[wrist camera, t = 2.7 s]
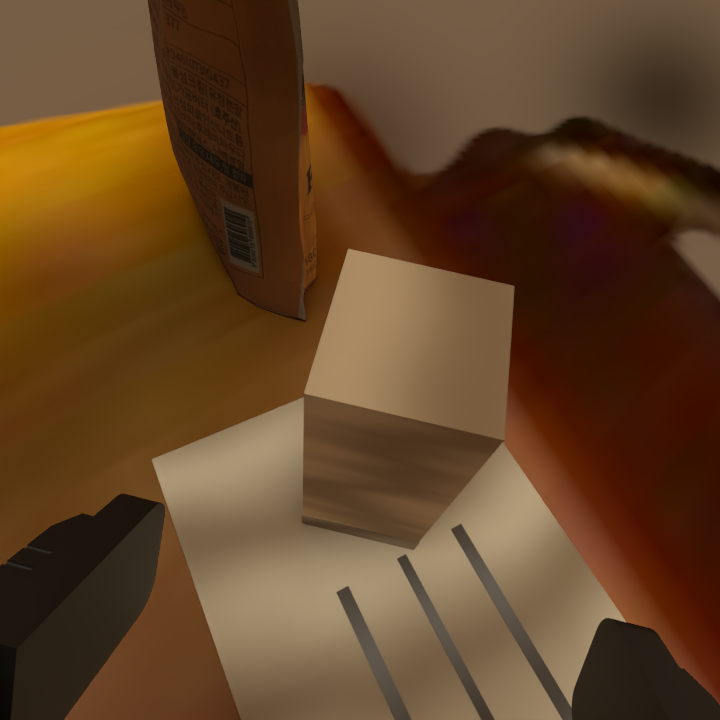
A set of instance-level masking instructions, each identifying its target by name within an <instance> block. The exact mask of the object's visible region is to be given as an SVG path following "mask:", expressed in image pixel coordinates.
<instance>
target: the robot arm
mask: <svg viewBox="0 0 720 720" xmlns="http://www.w3.org/2000/svg"><path fill="white" fill-rule="evenodd" d="M164 517H165V507H164V505H163V504H162V503H159V502H155V501H151V500H147V499H143V498H139V497H135V496H131V495H127V494H120V495H118V496H117V497H116V498H114V499H113V500H112V501H111V502H110V503H109V504H107V505H106V506H105V507H104V508H103V509H102V510H100V511H99V512H98V513H97V514H96V515H95V516H90V515H86V514H80V515H77V516H75V517H72V518H70V519H67V520H65V521H62V522H60V523H57V524H55V525H53V526H51V527H49V528H48V529H47V530H46V531H44V532H43V533H42V534H40V535H39V536H38V537H37V538H35V539H34V540H33V541H32V542H30V543H29V544H28V546H27V548H26V549H25V548H23V549H21V550H20V551H19V552H18V553H16V554H15V555H14V556H12V557H11V558H10V559H9V560H8V561H7V563H6V565H3V564H2V565H1V566H0V720H64V719H65V717H66V716H67V714H68V713H69V712H70V710H71V709H72V708H73V706H74V705H75V703H76V702H77V701H78V699H79V698H80V697H81V695H82V694H83V692H84V691H85V690H86V688H87V687H88V686H89V684H90V683H91V681H92V680H93V679H94V677H95V676H96V675H97V673H98V672H99V670H100V669H101V668H102V666H103V665H104V664H105V662H106V661H107V659H108V658H109V657H110V655H111V654H112V652H113V651H114V650H115V648H116V647H117V646H118V644H119V643H120V641H121V640H122V639H123V637H124V636H125V635H126V633H127V632H128V630H129V629H130V628H131V626H132V625H133V624H134V622H135V621H136V619H137V618H138V617H139V615H140V614H141V612H142V610H143V609H144V607H145V605H146V603H147V601H148V598H149V596H150V593H151V591H152V588H153V584H154V580H155V575H156V569H157V562H158V556H159V549H160V543H161V536H162V530H163V523H164ZM572 720H720V706H719V704H718V703H717V701H716V700H715V698H714V697H713V696H712V695H710V694H709V693H708V692H707V691H706V690H705V689H704V688H703V687H702V686H701V685H700V684H699V683H698V682H697V681H696V680H695V679H694V678H693V677H692V676H691V675H690V674H689V673H688V672H687V671H686V670H685V669H682V668H680V667H679V666H678V664H677V663H676V661H675V660H674V658H673V657H672V655H671V654H670V652H669V651H668V649H667V647H666V646H665V644H664V643H663V641H662V640H661V638H660V637H659V635H658V634H657V633H656V632H655V631H654V630H652V629H650V628H646V627H643V626H639V625H635V624H631V623H627V622H623V621H619V620H615V619H611V618H605V619H603V620H602V621H601V622H600V624H599V625H598V628H597V630H596V632H595V635H594V638H593V640H592V643H591V645H590V648H589V651H588V653H587V656H586V658H585V661H584V664H583V666H582V669H581V671H580V674H579V677H578V679H577V682H576V684H575V687H574V691H573V696H572Z"/></svg>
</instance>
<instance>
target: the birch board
mask: <svg viewBox="0 0 720 720" xmlns="http://www.w3.org/2000/svg"><path fill="white" fill-rule="evenodd" d="M303 430H304V397H303V398H301V399H298V400H296V401H293V402H291V403H288V404H286V405H284V406H281V407H279V408H276V409H274V410H271V411H269V412H266V413H264V414H262V415H259V416H257V417H254V418H252V419H249V420H247V421H244V422H242V423H240V424H237V425H235V426H232V427H230V428H227V429H225V430H222V431H220V432H218V433H215V434H213V435H210V436H208V437H205V438H203V439H201V440H198V441H196V442H193V443H191V444H188V445H186V446H183V447H181V448H179V449H176V450H174V451H171V452H169V453H166V454H164V455H161V456H159V457H157V458H154V459H152V462H153V465H154V468H155V471H156V474H157V476H158V479H159V482H160V485H161V488H162V491H163V494H164V497H165V500H166V503H167V506H168V509H169V512H170V514H171V517H172V520H173V523H174V526H175V529H176V532H177V535H178V538H179V541H180V544H181V547H182V550H183V552H184V555H185V558H186V561H187V564H188V567H189V570H190V573H191V576H192V579H193V582H194V585H195V587H196V590H197V593H198V596H199V599H200V602H201V605H202V608H203V611H204V614H205V617H206V620H207V623H208V625H209V628H210V631H211V634H212V637H213V640H214V643H215V646H216V649H217V652H218V655H219V658H220V661H221V663H222V666H223V669H224V672H225V675H226V678H227V681H228V684H229V687H230V690H231V693H232V696H233V699H234V701H235V704H236V707H237V710H238V713H239V716H240V719H241V720H572V696H573V691H574V687H575V684H576V682H577V679H578V677H579V674H580V671H581V669H582V666H583V664H584V661H585V658H586V656H587V653H588V651H589V648H590V645H591V643H592V640H593V638H594V635H595V632H596V630H597V628H598V625H599V624H600V622H601V621H602V620H603V619H605V618H611V619H615V620H619V621H623V622H626V621H625V619H624V618H623V617H622V615H621V614H620V612H619V611H618V609H617V608H616V606H615V605H614V603H613V602H612V601H611V599H610V598H609V596H608V595H607V593H606V592H605V590H604V589H603V587H602V586H601V585H600V583H599V582H598V580H597V579H596V577H595V576H594V574H593V573H592V571H591V570H590V569H589V567H588V566H587V564H586V563H585V561H584V560H583V558H582V557H581V555H580V554H579V553H578V551H577V550H576V548H575V547H574V545H573V544H572V542H571V541H570V539H569V538H568V537H567V535H566V534H565V532H564V531H563V529H562V528H561V526H560V525H559V523H558V522H557V521H556V519H555V518H554V516H553V515H552V513H551V512H550V510H549V509H548V507H547V506H546V505H545V503H544V502H543V500H542V499H541V497H540V496H539V494H538V493H537V491H536V490H535V489H534V487H533V486H532V484H531V483H530V481H529V480H528V478H527V477H526V475H525V474H524V472H523V471H522V470H521V468H520V467H519V465H518V464H517V462H516V461H515V459H514V458H513V456H512V455H511V454H510V452H509V451H508V449H507V448H506V446H505V445H504V443H502V444H501V445H500V446H499V447H498V448H497V450H496V451H495V452H494V453H493V454H492V456H491V457H490V458H489V459H488V460H487V462H486V463H485V464H484V465H483V466H482V468H481V469H480V470H479V471H478V472H477V473H476V475H475V476H474V477H473V478H472V479H471V481H470V482H469V483H468V484H467V485H466V487H465V488H464V489H463V490H462V491H461V493H460V494H459V495H458V496H457V497H456V498H455V500H454V501H453V502H452V503H451V504H450V506H449V507H448V508H447V509H446V510H445V512H444V513H443V514H442V515H441V516H440V518H439V519H438V520H437V521H436V522H435V523H434V525H433V526H432V527H431V528H430V529H429V531H428V532H427V533H426V534H425V535H424V537H423V538H422V539H421V540H420V542H419V544H418V545H417V547H416V548H415V549H414V550H410V549H406V548H402V547H398V546H394V545H390V544H385V543H381V542H377V541H373V540H369V539H365V538H361V537H356V536H352V535H348V534H344V533H340V532H336V531H332V530H327V529H323V528H319V527H315V526H311V525H307V524H303V523H302V512H303Z"/></svg>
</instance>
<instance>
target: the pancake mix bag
mask: <svg viewBox="0 0 720 720" xmlns="http://www.w3.org/2000/svg"><path fill="white" fill-rule="evenodd" d="M148 5H149V12H150V19H151V27H152V35H153V43H154V51H155V57H156V63H157V69H158V76H159V81H160V87H161V94H162V100H163V105H164V110H165V116H166V121H167V126H168V131H169V135H170V140H171V144H172V149H173V152H174V155H175V157H176V160H177V163H178V165H179V168H180V171H181V173H182V175H183V177H184V180H185V182H186V184H187V186H188V188H189V190H190V193H191V195H192V197H193V199H194V202H195V204H196V206H197V208H198V211H199V213H200V215H201V217H202V219H203V222H204V224H205V226H206V228H207V231H208V233H209V235H210V237H211V239H212V242H213V244H214V246H215V248H216V250H217V252H218V253H219V255H220V257H221V259H222V261H223V263H224V265H225V267H226V269H227V271H228V273H229V275H230V277H231V279H232V282H233V284H234V286H235V289H236V291H237V293H238V294H239V295H241V296H242V297H244V298H245V299H247V300H248V301H250V302H252V303H253V304H255V305H256V306H258V307H261V308H264V309H267V310H270V311H273V312H276V313H279V314H282V315H286V316H290V317H294V318H299V319H303V320H306V316H305V308H304V301H303V298H304V292H305V291H306V290H307V289H308V288H309V287H310V286H311V284H312V283H313V282H314V281H315V277H316V267H317V238H316V216H315V209H314V194H313V183H312V172H311V160H310V149H309V137H308V126H307V114H306V101H305V88H304V75H303V50H302V39H301V29H300V18H299V8H298V1H297V0H148Z"/></svg>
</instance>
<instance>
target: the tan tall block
mask: <svg viewBox="0 0 720 720" xmlns="http://www.w3.org/2000/svg"><path fill="white" fill-rule="evenodd" d="M513 301H514V286H512V285H507V284H503V283H498V282H494V281H489V280H485V279H481V278H476V277H472V276H467V275H463V274H458V273H454V272H449V271H445V270H441V269H436V268H432V267H427V266H423V265H418V264H414V263H409V262H405V261H401V260H396V259H392V258H387V257H383V256H378V255H374V254H370V253H365V252H361V251H356V250H352V249H348V251H347V255H346V258H345V261H344V265H343V268H342V271H341V274H340V278H339V281H338V284H337V287H336V291H335V294H334V297H333V300H332V304H331V307H330V310H329V313H328V317H327V320H326V323H325V326H324V330H323V333H322V336H321V339H320V343H319V346H318V349H317V352H316V356H315V359H314V362H313V365H312V369H311V372H310V375H309V378H308V382H307V385H306V388H305V392H304V430H303V512H302V523H303V524H307V525H311V526H315V527H319V528H323V529H327V530H332V531H336V532H340V533H344V534H348V535H352V536H356V537H361V538H365V539H369V540H373V541H377V542H381V543H385V544H390V545H394V546H398V547H402V548H406V549H410V550H414V549H415V548H416V547H417V545H418V544H419V542H420V540H421V539H422V538H423V537H424V535H425V534H426V533H427V532H428V531H429V529H430V528H431V527H432V526H433V525H434V523H435V522H436V521H437V520H438V519H439V518H440V516H441V515H442V514H443V513H444V512H445V510H446V509H447V508H448V507H449V506H450V504H451V503H452V502H453V501H454V500H455V498H456V497H457V496H458V495H459V494H460V493H461V491H462V490H463V489H464V488H465V487H466V485H467V484H468V483H469V482H470V481H471V479H472V478H473V477H474V476H475V475H476V473H477V472H478V471H479V470H480V469H481V468H482V466H483V465H484V464H485V463H486V462H487V460H488V459H489V458H490V457H491V456H492V454H493V453H494V452H495V451H496V450H497V448H498V447H499V446H500V445H501V444H502V443H503V441H504V437H505V422H506V406H507V391H508V376H509V361H510V346H511V331H512V316H513Z"/></svg>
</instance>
